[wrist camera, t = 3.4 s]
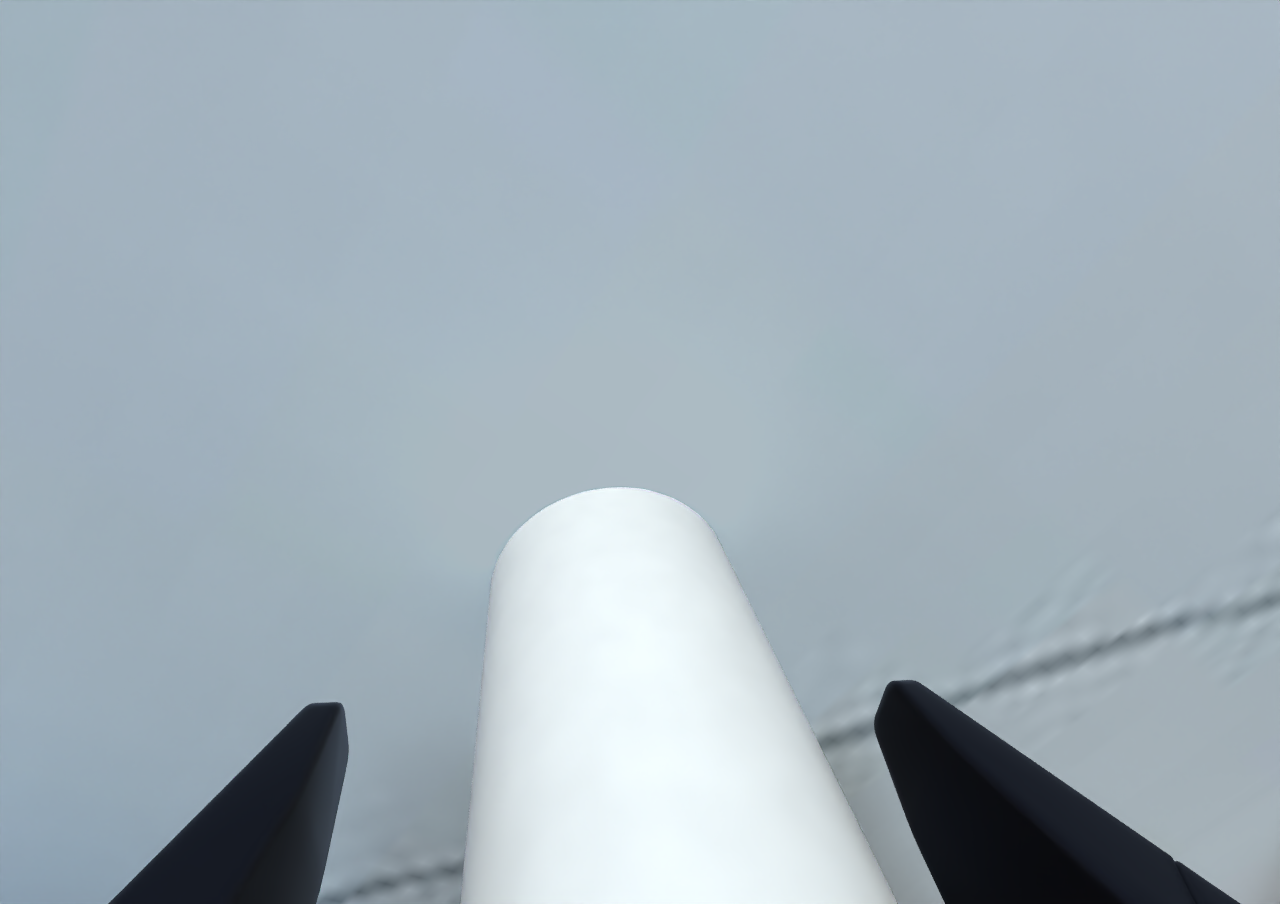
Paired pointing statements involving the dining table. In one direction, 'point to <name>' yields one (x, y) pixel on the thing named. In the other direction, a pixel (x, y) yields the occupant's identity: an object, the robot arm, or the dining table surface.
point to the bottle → (645, 728)
